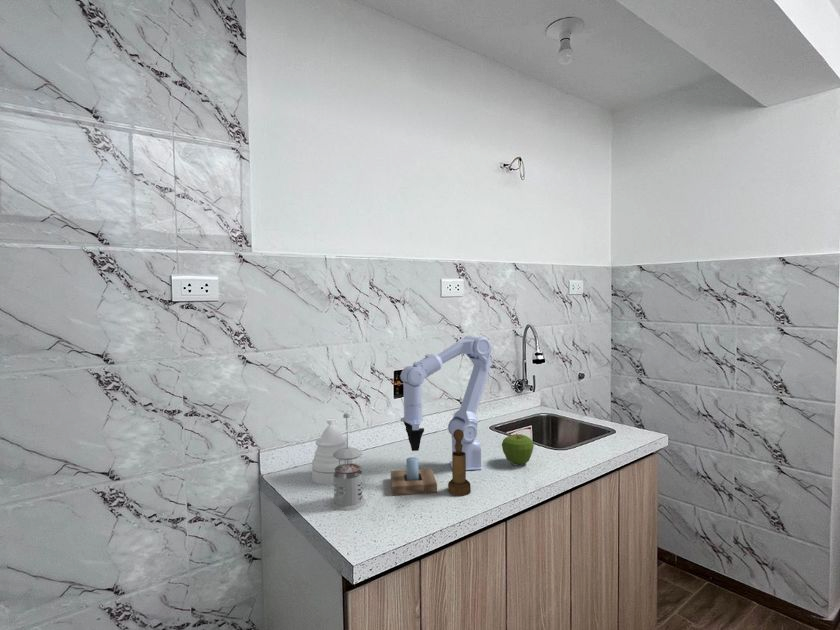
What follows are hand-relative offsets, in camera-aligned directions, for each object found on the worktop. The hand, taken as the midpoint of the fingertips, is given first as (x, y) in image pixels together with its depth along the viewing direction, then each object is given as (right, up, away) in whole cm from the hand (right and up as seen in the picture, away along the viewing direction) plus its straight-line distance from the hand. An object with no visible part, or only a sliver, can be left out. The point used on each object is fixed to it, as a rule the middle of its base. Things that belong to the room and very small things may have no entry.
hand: (413, 446), depth 138 cm
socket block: (0, -10, -7) cm, 12 cm away
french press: (-18, -10, -17) cm, 27 cm away
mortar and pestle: (+13, -10, -11) cm, 20 cm away
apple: (+35, -9, +10) cm, 38 cm away
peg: (0, -10, -7) cm, 12 cm away
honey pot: (-26, -10, +2) cm, 28 cm away
